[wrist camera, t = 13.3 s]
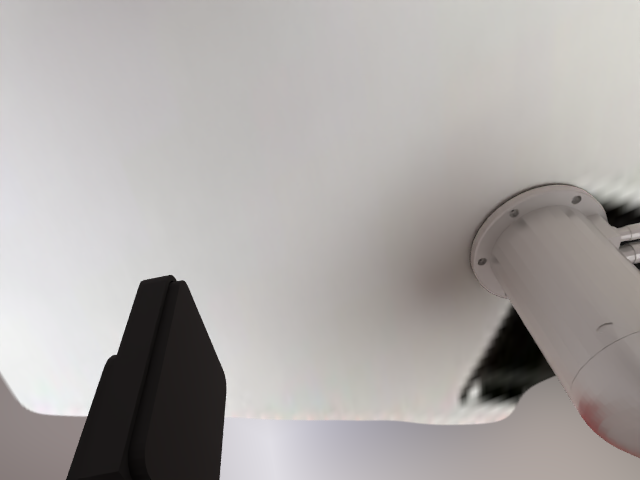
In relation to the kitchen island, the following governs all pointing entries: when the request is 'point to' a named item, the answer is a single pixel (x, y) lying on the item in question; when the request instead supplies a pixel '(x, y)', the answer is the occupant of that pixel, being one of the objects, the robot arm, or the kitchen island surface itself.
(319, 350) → the kitchen island surface
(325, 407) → the kitchen island surface
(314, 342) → the kitchen island surface
